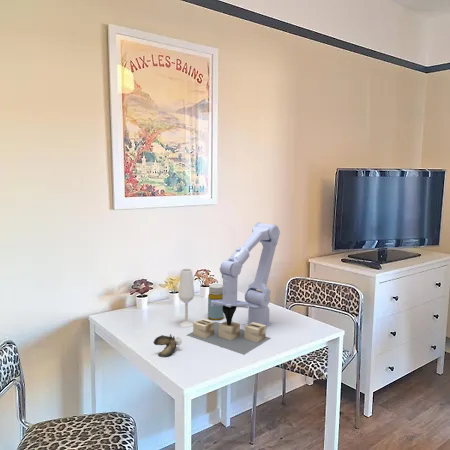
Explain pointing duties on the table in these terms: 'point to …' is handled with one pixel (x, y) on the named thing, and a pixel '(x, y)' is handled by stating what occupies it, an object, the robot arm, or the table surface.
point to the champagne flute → (186, 292)
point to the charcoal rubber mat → (231, 341)
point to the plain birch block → (229, 330)
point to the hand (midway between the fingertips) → (229, 324)
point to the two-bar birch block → (203, 328)
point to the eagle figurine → (167, 344)
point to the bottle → (215, 294)
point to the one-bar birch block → (255, 332)
